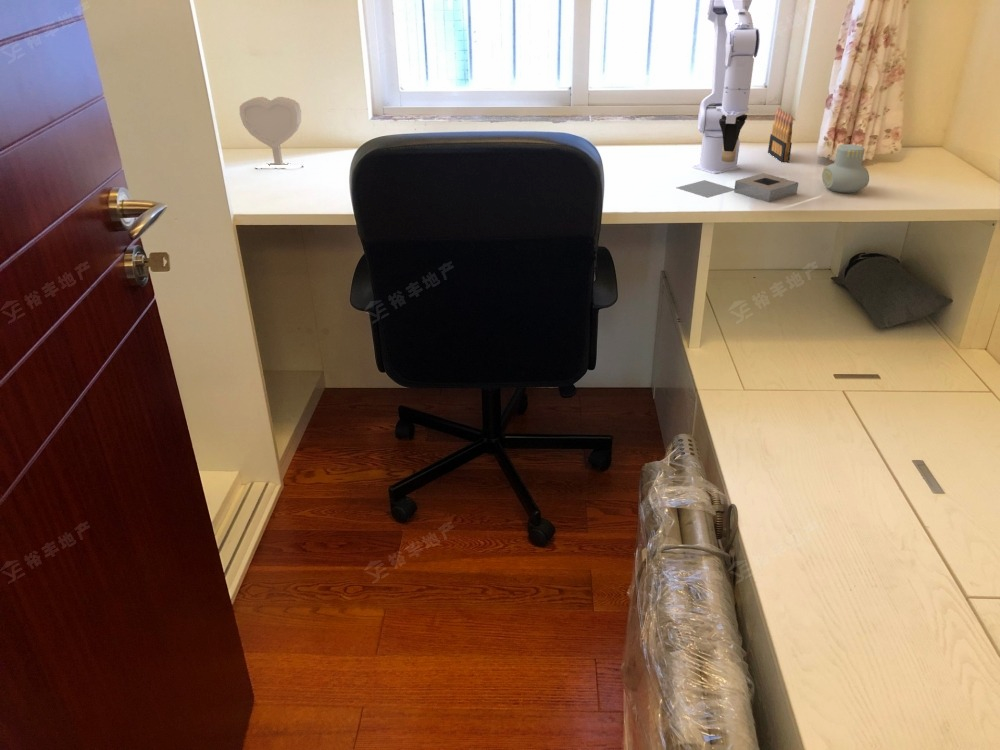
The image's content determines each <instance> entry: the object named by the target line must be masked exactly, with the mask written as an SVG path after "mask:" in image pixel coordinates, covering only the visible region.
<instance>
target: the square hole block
mask: <svg viewBox="0 0 1000 750" xmlns="http://www.w3.org/2000/svg"><path fill="white" fill-rule="evenodd" d="M798 187H799V182H798V181H794V180H791V179H787V178H783V177H779V176H777V175H776V176H775V175H772V174H768V173H765V172H763V173H759V174H756V175H752V176H749V177H748V176H747V177H743V178H739V179H737V180H735V181H734V188H733V189H734V190H733V192H734V194H738V195H743V196H745V197H748V198H749V197H750V198H753V199H756V200H760V201H762V202H766V203H772V202H775V201H779V200H781V199H785V198H788V197H791V196H794V195H798V194H797V193H798V189H799V188H798Z"/></svg>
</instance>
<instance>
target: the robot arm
mask: <svg viewBox="0 0 1000 750" xmlns="http://www.w3.org/2000/svg"><path fill="white" fill-rule="evenodd" d="M752 2H753V0H707V5H706V7H707V8H706V15H707V20H708V21H710V22H712V23H713V25H714V26H713V28H714V48H713V49H714V50H713V52H714V53H713V66H712V67H713V69H712V85H711V87H712V88H711V93H710V94H708V95H707V96H706V97H704V98H703V99H702V100H701V102H700V104H699V111H698V116H697V117H698V118H697V129H698V131H699V133H701V134H702V139H701V150H700V158H699V159H700V160H699V164H696V165H692V169H695V170H699V171H702V172H705V173H710V174H713V175H718V174H721V173H725V172H729V171H733V170H737V169H740V166H739V165H738V159H739V153H740V137H739V136H740V132H741V130H742V128H743V127H744V125H745V124H746V120H747V118H748V113H749V102H750V92H751V86H752V77H753V71H754V70H753V69H754V65H755V64H754V63H755V59H754V58H757V56H758V53H759V49H760V41H761V40H760V39H761V38H760V34H761V33H760V29H759V28H757V27H754V23H753V19H752V14H751V13H750V11H749V9H750V7H751V5H752ZM737 120H739V121H737ZM736 142H737V146H736ZM735 146H736V154H735V161H734V162H723V161H722V151H723V147H724V151H730V152H733V151H734V149H735Z"/></svg>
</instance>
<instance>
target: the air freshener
mask: <svg viewBox="0 0 1000 750" xmlns="http://www.w3.org/2000/svg"><path fill="white" fill-rule="evenodd" d="M836 148H837V149H836V153H835V158H834V162H833V163H831V164H829V165H827V166H825V167H824V168H823V170H822V173H821V178H822V179H821V180H822V183H823V184H824V187H826V188H827V189H829V191H831V192H836V193H844V194H847V193H848V194H849V193H856V192H859V191H861V190H863V189H865V188H866V187H867V186H868V184H869V183H870V172H869V171H868V169H867V168H866V167H865V166H864V165H863V160H864V159H863V158H864V154H865V148H864V146H862V145H858V144H851V143H850V144H840V145H838V146H837V147H836Z"/></svg>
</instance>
